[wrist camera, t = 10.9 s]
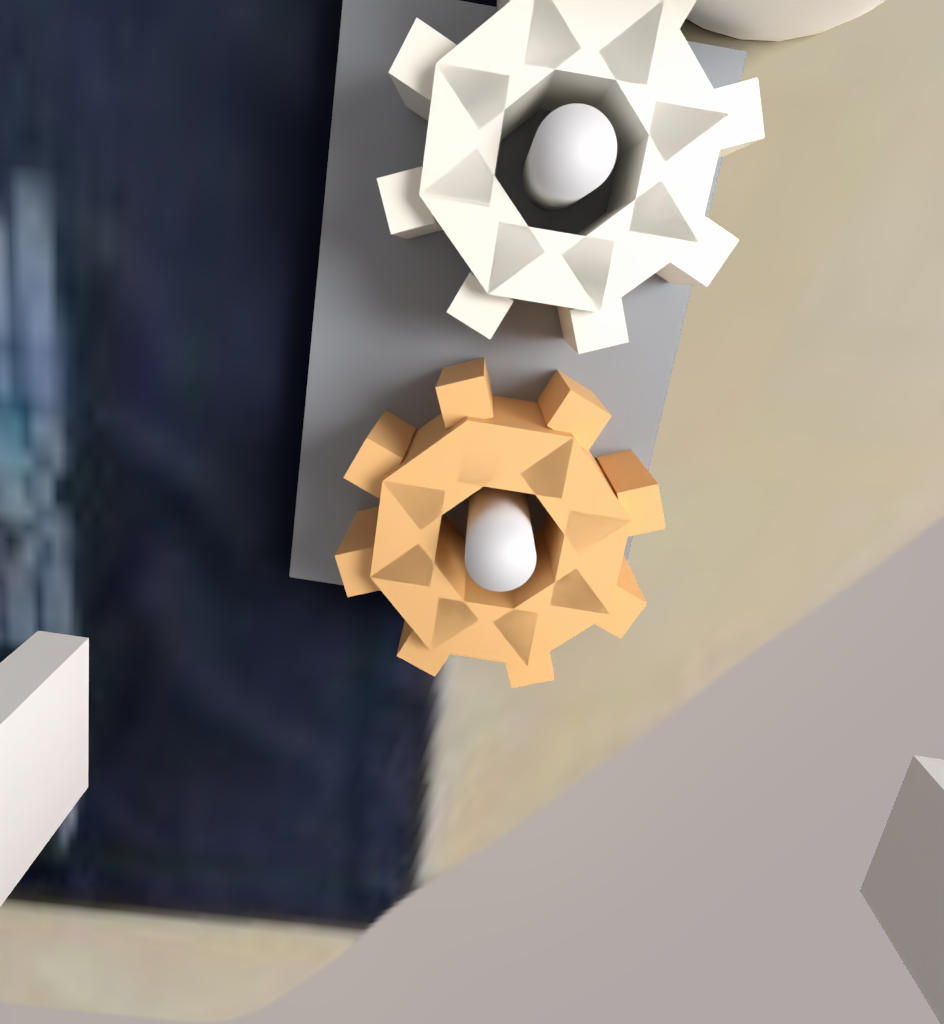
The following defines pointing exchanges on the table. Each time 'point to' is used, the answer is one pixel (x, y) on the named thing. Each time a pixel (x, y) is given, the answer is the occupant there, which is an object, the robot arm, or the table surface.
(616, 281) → the gear
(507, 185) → the gear board
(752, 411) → the table surface
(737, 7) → the cup
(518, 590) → the gear
